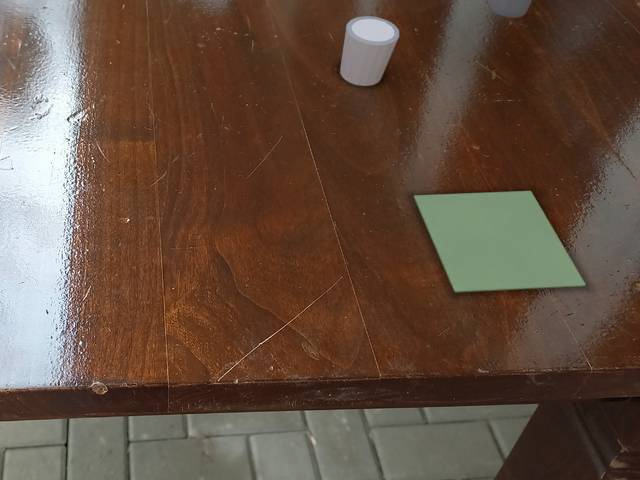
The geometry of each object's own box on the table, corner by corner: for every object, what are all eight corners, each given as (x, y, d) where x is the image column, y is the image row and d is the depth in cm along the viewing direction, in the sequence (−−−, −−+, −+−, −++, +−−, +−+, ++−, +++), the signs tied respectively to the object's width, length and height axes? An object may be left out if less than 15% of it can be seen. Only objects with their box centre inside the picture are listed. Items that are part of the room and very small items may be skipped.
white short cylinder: (340, 90, 93) (352, 44, 88) (330, 60, 97) (341, 15, 92) (390, 90, 93) (405, 44, 88) (378, 60, 98) (392, 15, 92)
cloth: (529, 193, 81) (531, 190, 81) (583, 287, 72) (586, 285, 72) (412, 198, 80) (414, 195, 80) (453, 294, 71) (455, 291, 71)
